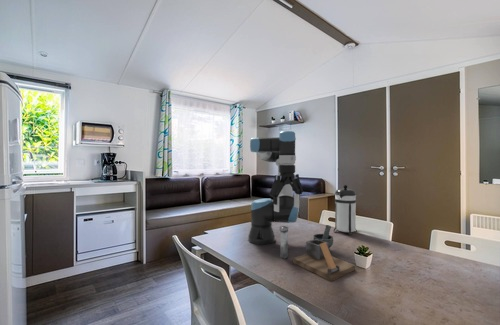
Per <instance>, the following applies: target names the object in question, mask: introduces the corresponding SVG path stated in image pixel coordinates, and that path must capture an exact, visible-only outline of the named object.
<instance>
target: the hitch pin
mask: <svg viewBox="0 0 500 325" xmlns="http://www.w3.org/2000/svg"><path fill="white" fill-rule="evenodd" d="M279 231H280V234H279V235H280V239H279V240H280V242H279V243H280V250H279V251H280V252H279V256H280V257H279V258H281V259H288V257H289V256H288V254H289V252H288V251H289V248H288V246H289V244H288V243H289V242H288V236H289V234H288V232H289V227H288V226H284V225H283V226H280V227H279Z"/></svg>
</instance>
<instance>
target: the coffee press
mask: <svg viewBox="0 0 500 325" xmlns="http://www.w3.org/2000/svg"><path fill="white" fill-rule="evenodd" d="M334 195H335V196H334V197H335V198H334V204H335V205H334V206H335V207H334V210H335V211H334V212H335V214H334V217H335V218H334V226H335V227H334V228H333V232H334V233H337V232H343V233H348V234H347V235H348V236H353V232H355V233H357V232H358V231H357V228H356V227H357V226H356V225H357V224H356V214H357V213H356V212H357V211H356V209H357V208H356V207H357V206H356V205H357V198H356V197H357V193H356V191H355V190H354V189H351V188H348V185H347V184H343V188H338V189H336V190H335V192H334Z"/></svg>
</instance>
